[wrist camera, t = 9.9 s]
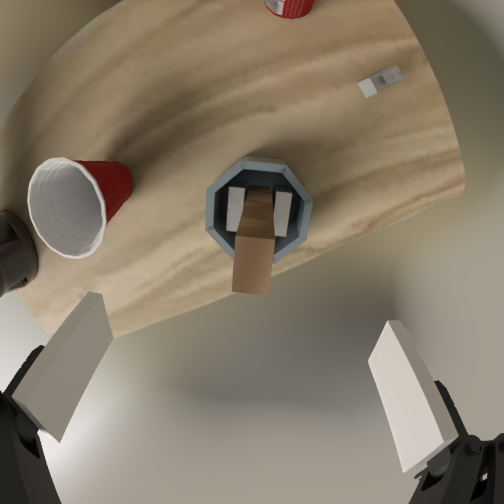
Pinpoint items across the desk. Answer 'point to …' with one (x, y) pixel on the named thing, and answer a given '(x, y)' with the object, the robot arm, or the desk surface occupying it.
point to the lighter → (380, 81)
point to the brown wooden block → (254, 243)
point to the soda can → (289, 7)
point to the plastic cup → (76, 202)
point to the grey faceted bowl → (269, 175)
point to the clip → (279, 206)
